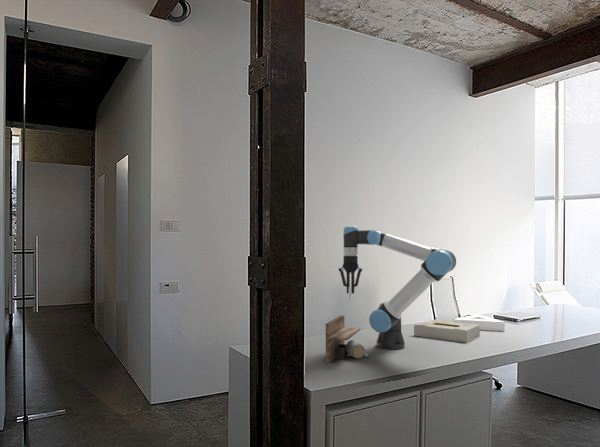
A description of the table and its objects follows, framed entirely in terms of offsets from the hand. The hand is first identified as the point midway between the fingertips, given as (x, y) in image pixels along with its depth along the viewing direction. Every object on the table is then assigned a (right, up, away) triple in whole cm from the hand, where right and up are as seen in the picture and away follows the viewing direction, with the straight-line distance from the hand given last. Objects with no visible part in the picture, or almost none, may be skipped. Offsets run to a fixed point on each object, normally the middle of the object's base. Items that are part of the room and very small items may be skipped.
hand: (350, 299), depth 257 cm
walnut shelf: (-5, -25, -19) cm, 32 cm away
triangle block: (+91, -28, +60) cm, 113 cm away
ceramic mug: (+2, -26, -19) cm, 32 cm away
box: (+61, -27, +31) cm, 73 cm away
